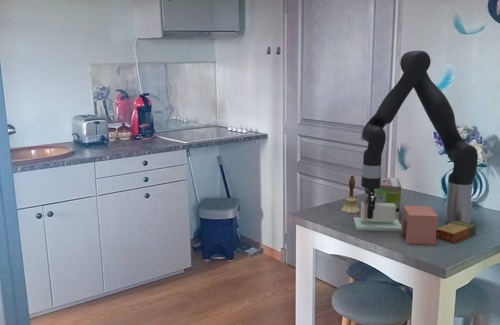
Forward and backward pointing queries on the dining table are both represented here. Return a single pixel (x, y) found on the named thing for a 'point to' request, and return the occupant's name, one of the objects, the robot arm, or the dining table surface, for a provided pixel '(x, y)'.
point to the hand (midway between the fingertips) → (368, 216)
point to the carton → (455, 231)
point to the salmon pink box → (419, 224)
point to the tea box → (389, 193)
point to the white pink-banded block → (379, 211)
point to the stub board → (377, 225)
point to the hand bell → (351, 200)
